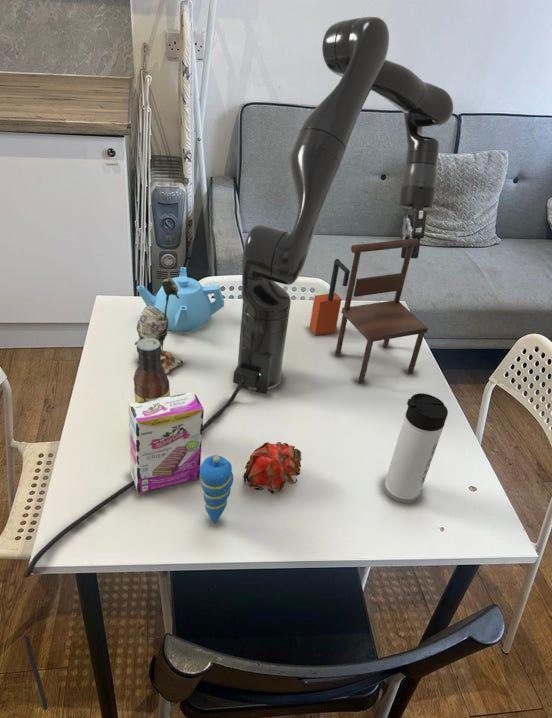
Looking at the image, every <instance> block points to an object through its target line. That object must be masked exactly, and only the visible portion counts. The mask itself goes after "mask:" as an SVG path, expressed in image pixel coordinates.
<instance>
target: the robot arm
mask: <svg viewBox="0 0 552 718" xmlns="http://www.w3.org/2000/svg"><path fill="white" fill-rule="evenodd" d="M321 45H322V46H321V51H322V58H323V61H324V64H325V65H326V67H327V68H328V69H329V70H330V72H331V73H333V74H334V75H337V76H339V77H341V78H340V80H339V82H338V83H337V85H336V86H335V87H334V88H333V90H332V91H330V93H329V94H328V95H327V96H326V97H325V98H324V99H323V100H322V101H321V102H320V103H319V104H318V105H317V106H316V107H315V108H314V109H313V110H312V111H311V113H310V114H309V115H308V116H307V117H306V118H305V120H304V122H303V123H302V125H301V126H300V129H299V131H298V134H297V136H296V139H295V142H294V143H293V146H292V149H291V152H290V154H289V160H288V162H289V163H288V165H289V166H288V167H289V173H290V178H291V183H292V186H293V190H294V196H295V202H296V218H295V221H294V225H293V228H292V230H291V231H287V230H284V229H280V228H277V227H273V226H270V225H265V224H256V225H254V226H253V227H252V228H251V229H250V230H249V232H248V233H247V235H246V238H245V241H244V244H243V252H242V261H241V262H242V264H241V274H242V275H241V299H242V308H241V309H242V310H241V321H240V332H239V333H240V334H239V345H238V355H237V356H238V357H237V366H236V368H235V369H234V371H233V382H232V383H234V384H237V387H235V389H234V390H233V392H232V395H231V396H230V398H229V399H228V400H227V402H225V404H224V405H223V406H222V407H221V408H220V409H219V410H218V411H216V413H215V414H213V415H212V416H211V417H210V418H209V419H208V420H207V421H206V422H205V423H203V429H202V433H203V432H204V431H205V430H206V429H207V428H208V427H209V426H210V425H211V424H212V423H213V422H215V420H216V419H217V418H219V417H220V416H221V415H222V414H223V412H225V410H226V409H227V408H228V407H229V406H230V405H231V404H232V403H233V402H234V400H235V399H236V397H237V395H238V394H239V392H240V391H241V389H245V390H249V391H252V392H256V393H260V394H264V395H266V394H268V392H271V391H272V390H275V389H276V388H278V387H279V386H280V384H281V382H282V372H283V371H282V370H283V363H284V356H285V355H284V354H285V348H286V340H287V333H288V325H289V319H290V311H291V304H292V303H291V301H292V300H291V296H290V294H289V293H288V292H287V291H286V290H285V289H284V288H283V287H282V286H281V285H279V284H282V285H287V286H289V285H290V286H291V285H294V283H295V282H296V281H297V280H298V279H299V278H300V277H299V276H300V274H301V273H302V271H303V269H304V266H305V263H306V260H307V257H308V254H309V251H310V248H311V245H312V241H313V238H314V234H315V232H316V229H317V225H318V221H319V219H320V216H321V214H322V210H323V207H324V205H325V202H326V199H327V198H328V194H329V192H330V190H331V187H332V185H333V182H334V180H335V177H336V175H337V173H338V171H339V169H340V166H341V163H342V160H343V158H344V155H345V153H346V150H347V147H348V144H349V141H350V138H351V136H352V134H353V131H354V128H355V127H356V124H357V121H358V118H359V116H360V114H361V112H362V109H363V107H364V105H365V103H366V101H367V99H368V97H369V95H370V93H371V91H372V92H374V93H376V94H377V95H378V96H381V97H382V98H384V99H385V100H386V101H388V102H389V103H390V104H392V105H393V106H394V107H396V108H397V109H398V110H399V111H401V112H403V117H404V118H403V119H404V125H405V134H406V144H407V149H406V157H405V165H404V168H403V169H404V170H403V173H402V180H401V188H400V197H399V203H398V204H399V207H401V208H403V209H407V211H406V212H407V213H406V214H403V216H402V218H403V219H402V224H401V225H402V226H401V232H400V233H401V234H400V236H399V237H400V240H404V239H414V238H417V239H418V240H419V244H418V246H413V250H412V254H411V258H410V259H415V260H417V259H418V258H419V254H420V247H421V246H420V245H421V242H422V241H423V239H424V237H425V231H426V223H427V214H428V211H427V210H430V209H432V208H433V205H434V201H435V191H436V185H437V178H438V177H437V175H438V174H437V173H438V172H437V171H438V170H437V169H438V161H439V154H440V153H439V152H440V141H439V140H438V139H437V138H435V137H432V136H426V135H425V134H424V128H429V127H439V126H443V125H445V124H446V123H448V122H449V121H450V119H451V118H452V116H453V113H454V101H453V99H452V97H451V95H450V93H449V92H448V91H446V90H445V89H443V88H441V87H439V86H437V85H434V84H432V83H429V82H426V81H423V80H422V79H421V78H420V77H419V76H418V75H417V73H416V74H415V73H414V72H413V71H412V70H411V69H410V68H408V67H406V66H404V65H402V64H399V63H396V62H393V61H391V60H387V59H386V58H387V55H388V52H389V47H390V30H389V27H388V25H387V23H386V21H384V20H383V19H382V18H381V17H377V16H363V17H357V18H351V19H345V20H340V21H338V22H336V23H335V22H334V23H333V24H331V25H330V26H329V27H328V28H327V30H326V31H325V33H324V36H323V39H322V44H321ZM406 250H407V247H404V248H401V252H400V258H401V259H404V258H405V254H406ZM278 283H279V284H278ZM133 487H135V483H134V480H133V479H132V480H131V482H129V483H127V484H126V485H124V486H123V487H122V488H120V489H119V490H117V491H116V492H114V493H113V494H111V495H110V496H108V497H107V498H105V499H104V500H102V501H101V502H100V503H98V504H96V506H93V508H91V509H90V510H88V511H87V512H86V513H84V514H83V515H82V516H80V517H79V518H77V519H76V520H75V521H73V522H72V523H71V524H69V525H67V526H66V527H65V528H63V529H62V530H61V531H60V532H59V533H57V534H56V535H55V536H54V537H53V538H52V539H51V540H50V541H49V542H48V543H46V544H45V545H44V546H43V547H42V548H41V549H40V550H39V551H38V552H37V553H36V554H35V555H34V557H33V558H32V560H31V561H30V563H29V564H28V566H27V568H26V570H25V572H24V578H25V579H27V578H29V577H30V576H31V574H32V573H33V572H32V571H33V570H34V568H35V566H36V565H37V563H38V562H39V560H40V559H41V558H42V557H43V556H44V555H45V554H46V553H47V552H48V551H49V550H50V549H51V548H52V547H54V546H55V545H56V543H57V542H59V541H60V540H61V539H62V538H63V537H65V536H66V535H67V534H68V533H69V532H71V531H73V529H75V528H76V527H78V526H79V525H80V524H82V523H83V522H85V521H86V520H87V519H88V518H90V517H91V516H92V515H94V514H95V513H97V512H98V511H99V510H101V509H103V508H104V507H105V506H107V505H108V504H109V503H111V502H112V501H114V500H115V499H117V498H118V497H120V496H121V495H123V494H124V493H126V492H127V491H128V490H130V489H131V488H133ZM23 637H24V642H25V649H26V652H27V657H28V659H29V663H30V667H31V669H32V673H33V676H34V679H35V682H36V686H37V689H38V693H39V697H40V700H41V705H42V708H43V710H44V711H47V710H48V709H49V708H48V701H47V698H46V694H45V690H44V685H43V683H42V680H41V676H40V672H39V668H38V665H37V663H36V659H35V655H34V652H33V647H32V643H31V637H30V636H28V635H25V634H24V635H23Z"/></svg>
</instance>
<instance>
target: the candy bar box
mask: <svg viewBox="0 0 552 718" xmlns="http://www.w3.org/2000/svg"><path fill="white" fill-rule="evenodd" d="M204 412H205V408H204V407H203V405H202V403H201V402H200V400H199V397H198V396H197V394H196V392H195V391H191V392H185V393H180V394H174V395H170V396H169V397H163V398H158V399H152V400H147V401H142V402H136V403H135V402H131V403H128V419H129V420H128V422H129V423H128V427H129V448H130V449H129V455H130V475H131V479H132V481H133V480H134V483H135V485H134V487H135V489H136V492H137V494H138V495H142V494H145V493H149V492H155V491H158V490H161V489H165V488H169V487H174V486H177V485H181V484H186V483H190V482H193V481H198V480H200V478H201V477H200V467H201V461H202V444H203V443H202V440H203V432H202V429H203V425H204Z"/></svg>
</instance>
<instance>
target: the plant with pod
mask: <svg viewBox="0 0 552 718" xmlns="http://www.w3.org/2000/svg"><path fill="white" fill-rule="evenodd" d="M160 284H161V287H162V286H163V289H164V292H165V294H166V306H165V313H163V312H162V311H161V310H159V309H157V308H155V307H153V306H151V305H145V306H144V307H143V310H142V312H141V314H140V316H139V319H138V321H137V323H136V327H135V328H136V331H137V334H138V337H139V338H138V339H137V340H136V341H135V342H134V344H133V345H134V346H137V342H138V341H139V340H141V339H144V338H155V339H157V340H158V341H159V342H160V343H161V352H160V356H161V363H162V366H163V368H164V371H165V373H166V374H169V373H170V372H172V370H174V369H175V368H176V367H179V366H180V365H183V364H184V362H185V361H184V360H182V359H179V358H178V357H177V356H176V355H175V354H174V353H172V352H171V351H168V350H164V349H163V348H164V341H165V339H166V337H167V336H168V317H167V316H166V312H167V304H168V300H169V295H171V294H172V295H175V296H176V297H177V298H178V299H179V297H178V294H177V292H178V287H177V286H176V284H175V282H174V281H173V279H172V278H171V277H169V278H165V279H162V280H161V281H160ZM150 303H151V302H150ZM137 364H138V365H139V360H138V361H137Z"/></svg>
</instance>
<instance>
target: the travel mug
mask: <svg viewBox="0 0 552 718" xmlns="http://www.w3.org/2000/svg"><path fill="white" fill-rule="evenodd" d="M406 404H407V409H406V412H405V413H404V417H403V421H402V424H401V428H400V431H399V434H398V437H397V440H396V444H395V446H394V450H393V454H392V457H391V460H390V464H389V467H388V471H387V474H386V477H385V479H384V484H383V489H384V492H385V494H386V495H387V496H388V497H389V498H390V499H392V500H393V501H396V502H398V503H402V504H411V503H414V502H415V501H417V500H418V499H419V497H420V496H421V495H420V494H421V492H422V489H423V486H424V483H425V480H426V477H427V475H428V472H429V470H430V467H431V464H432V460H433V459H434V456H435V453H436V450H437V447H438V444H439V442H440V439H441V436H442V432H443V430H444V427H445V424H446V421H447V419H448V415H449V410H448V407H447V406H446V405H445V403H444V402H443V400H441V399H439V398H438V397H436V396H434V395H431V394H428V393H424V392H423V393H421V392H419V393H415V394H413V395H412V396H411V397H410V398H408V399H407V402H406Z"/></svg>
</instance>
